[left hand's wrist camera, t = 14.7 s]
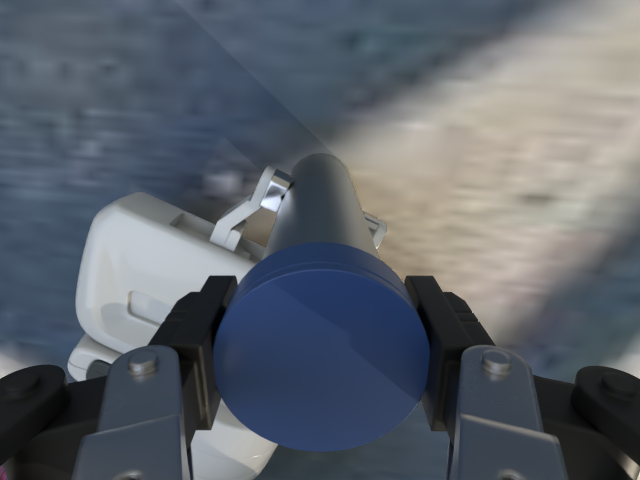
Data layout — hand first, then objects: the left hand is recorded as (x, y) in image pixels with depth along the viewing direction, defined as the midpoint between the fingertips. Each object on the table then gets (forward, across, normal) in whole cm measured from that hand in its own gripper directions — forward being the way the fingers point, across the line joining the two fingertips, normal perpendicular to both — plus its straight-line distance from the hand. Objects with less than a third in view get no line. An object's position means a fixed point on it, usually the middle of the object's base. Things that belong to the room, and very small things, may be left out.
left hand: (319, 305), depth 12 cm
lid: (-3, 0, 0) cm, 3 cm away
